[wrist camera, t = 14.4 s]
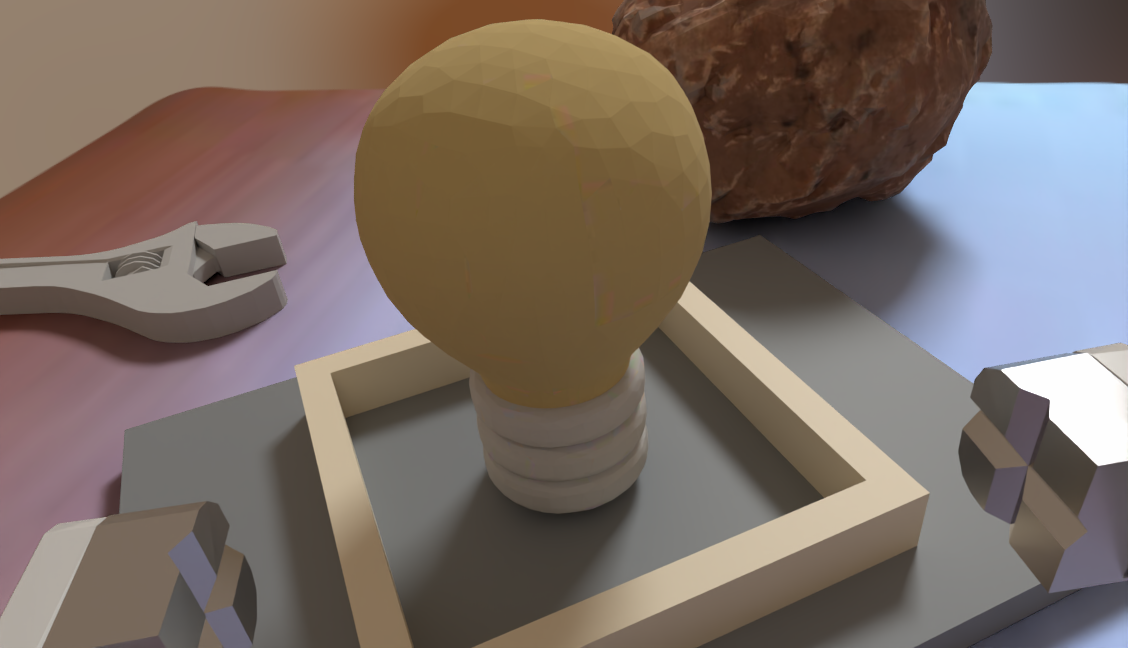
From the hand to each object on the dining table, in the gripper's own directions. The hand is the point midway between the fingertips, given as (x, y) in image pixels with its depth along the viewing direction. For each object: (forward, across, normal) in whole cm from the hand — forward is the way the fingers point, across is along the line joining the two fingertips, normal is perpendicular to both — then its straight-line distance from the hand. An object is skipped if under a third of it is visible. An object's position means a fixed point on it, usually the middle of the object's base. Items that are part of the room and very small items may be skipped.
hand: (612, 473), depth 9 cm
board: (+7, 0, +8) cm, 11 cm away
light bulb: (+7, 0, +7) cm, 10 cm away
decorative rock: (+22, -11, +8) cm, 25 cm away
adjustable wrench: (+23, +20, +9) cm, 32 cm away
